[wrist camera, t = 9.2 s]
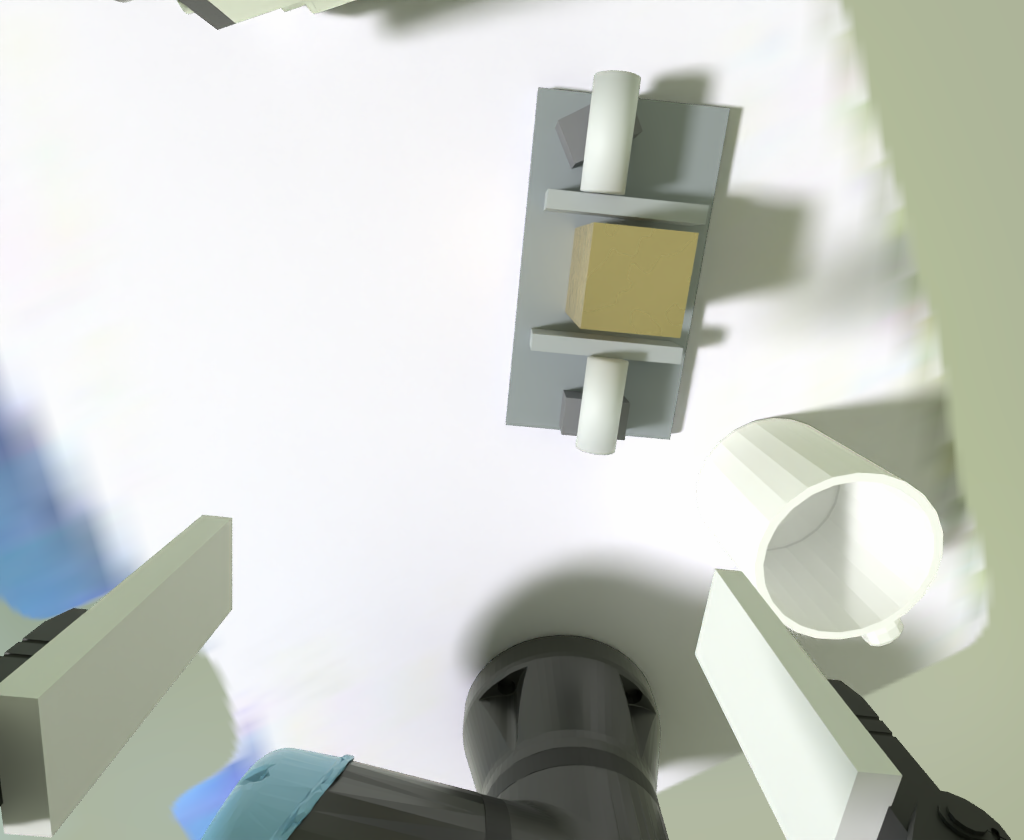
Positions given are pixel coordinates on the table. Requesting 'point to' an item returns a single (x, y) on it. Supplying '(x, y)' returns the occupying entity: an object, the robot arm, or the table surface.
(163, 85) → the table surface
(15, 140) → the table surface
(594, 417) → the shaft rig
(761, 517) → the mug
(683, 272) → the coupling block
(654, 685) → the table surface
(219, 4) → the ball valve
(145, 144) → the table surface
